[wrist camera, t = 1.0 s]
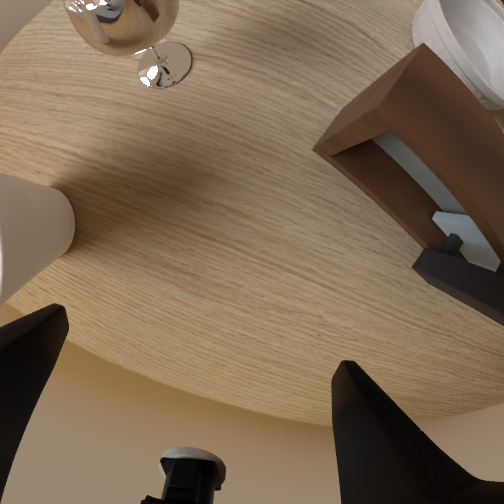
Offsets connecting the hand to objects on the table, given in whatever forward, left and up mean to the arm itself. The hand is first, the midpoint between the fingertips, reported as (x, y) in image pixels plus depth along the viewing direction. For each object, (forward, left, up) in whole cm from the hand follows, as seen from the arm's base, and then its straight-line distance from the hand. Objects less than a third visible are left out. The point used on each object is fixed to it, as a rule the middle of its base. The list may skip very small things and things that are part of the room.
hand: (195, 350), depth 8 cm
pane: (-2, -19, -12) cm, 23 cm away
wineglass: (+16, +4, -14) cm, 22 cm away
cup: (+4, +15, -14) cm, 21 cm away
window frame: (+3, -17, -14) cm, 22 cm away
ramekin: (+19, -23, -14) cm, 33 cm away
